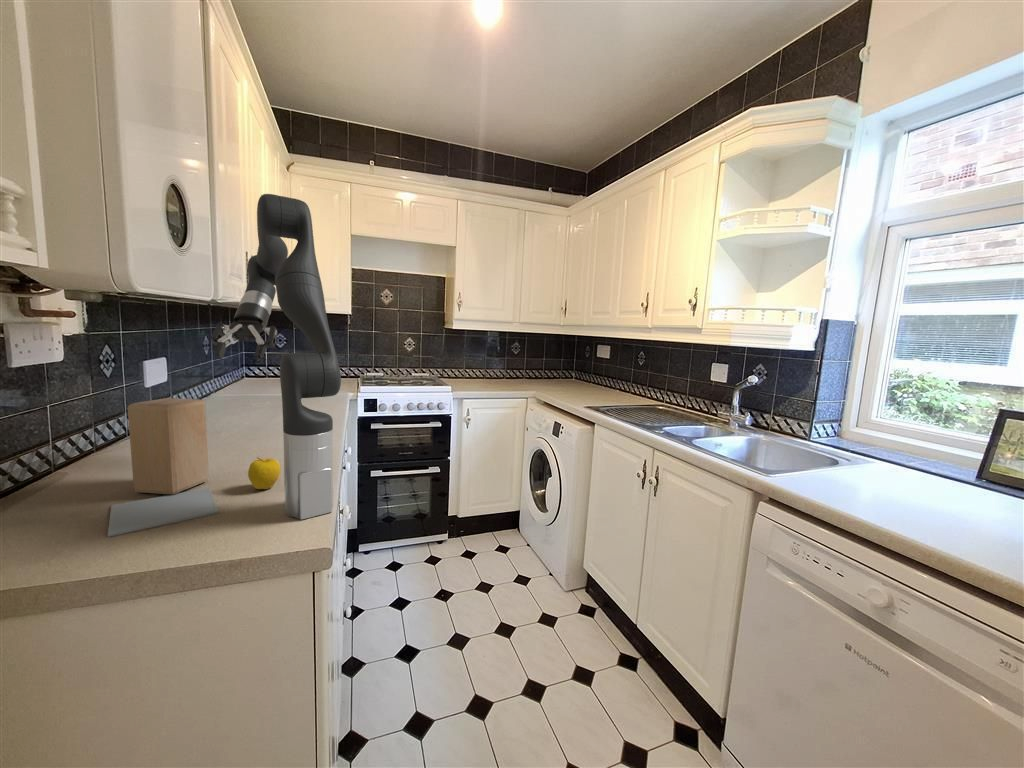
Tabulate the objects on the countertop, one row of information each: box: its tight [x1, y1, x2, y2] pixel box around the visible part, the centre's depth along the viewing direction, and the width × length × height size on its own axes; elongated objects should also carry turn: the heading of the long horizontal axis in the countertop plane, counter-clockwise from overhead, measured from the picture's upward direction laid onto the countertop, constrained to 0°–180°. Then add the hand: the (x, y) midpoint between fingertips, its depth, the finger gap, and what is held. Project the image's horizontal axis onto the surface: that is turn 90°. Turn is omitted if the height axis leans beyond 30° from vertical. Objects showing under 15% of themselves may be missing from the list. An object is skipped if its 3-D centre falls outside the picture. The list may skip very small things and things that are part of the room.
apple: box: [247, 457, 281, 490], centre depth 95 cm, size 6×6×8 cm
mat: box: [107, 487, 219, 538], centre depth 83 cm, size 15×16×1 cm
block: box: [127, 397, 210, 495], centre depth 92 cm, size 10×10×20 cm
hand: (238, 357), depth 103 cm, fingers open, 8 cm apart
